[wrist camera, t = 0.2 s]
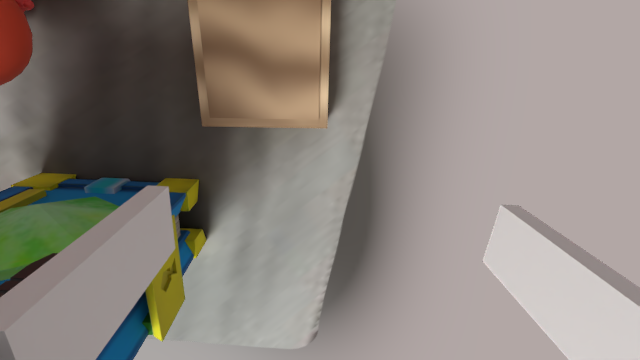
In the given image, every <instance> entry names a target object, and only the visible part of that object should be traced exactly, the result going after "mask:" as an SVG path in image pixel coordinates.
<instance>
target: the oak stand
mask: <svg viewBox="0 0 640 360" xmlns="http://www.w3.org/2000/svg"><path fill="white" fill-rule="evenodd" d="M188 9H189V17H190V26H191V34H192V43H193V52H194V60H195V69H196V77H197V86H198V94H199V103H200V112H201V120H202V126H207V127H275V128H327V120H328V87H329V54H330V21H331V0H188Z"/></svg>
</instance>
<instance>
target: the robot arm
mask: <svg viewBox="0 0 640 360" xmlns="http://www.w3.org/2000/svg"><path fill="white" fill-rule="evenodd" d="M174 250H175V240H174V232H173V223H172V214H171V205H170V196H169V187H167V186H149V185H148V186H146V187H145V188H144V189H142V190H141V191H140V192H138V193H137V194H136V195H134V196H133V197H132V198H130V199H129V200H128V201H126V202H125V203H124V204H123V205H121V206H120V207H119V208H117V209H116V210H115V211H113V212H112V213H111V214H109V215H108V216H107V217H105V218H104V219H103V220H102V221H100V222H99V223H98V224H96V225H95V226H94V227H92V228H91V229H90V230H88V231H87V232H86V233H84V234H83V235H82V236H80V237H79V238H78V239H77V240H75V241H74V242H73V243H71V244H70V245H69V246H67V247H66V248H65V249H63V250H62V251H61V252H59V253H52V254H50V255H48V256H46V257H43V258H41V259H39V260H37V261H35V262H33V263H31V264H29V265H28V266H26V267H25V268H23V269H22V270H21V271H19V272H18V273H16V274H15V275H14V276H12V277H11V278H10V280H9V281H5V282H4V283H3V284H1V285H0V360H96V358H97V357H98V355H99V354H100V353H101V351H102V350H103V348H104V347H105V346H106V344H107V343H108V342H109V340H110V339H111V337H112V336H113V335H114V333H115V332H116V330H117V329H118V328H119V326H120V325H121V323H122V322H123V321H124V319H125V318H126V316H127V315H128V314H129V312H130V311H131V309H132V308H133V307H134V305H135V304H136V303H137V301H138V300H139V298H140V297H141V296H142V294H143V293H144V291H145V290H146V289H147V287H148V286H149V284H150V283H151V282H152V280H153V279H154V277H155V276H156V275H157V273H158V272H159V270H160V269H161V268H162V266H163V265H164V264H165V262H166V261H167V259H168V258H169V257H170V255H171V254H172V252H173V251H174ZM483 262H484V264H485V265H486V266H487V267H488V268H489V269H490V270H491V272H492V273H493V274H494V275H495V276H496V277H497V278H498V280H499V281H500V282H501V283H502V284H503V285H504V286H505V287H506V289H507V290H508V291H509V292H510V293H511V294H512V295H513V297H515V299H516V300H517V301H518V302H519V303H520V305H521V306H522V307H523V308H524V309H525V310H526V311H527V313H528V314H529V315H530V316H531V317H532V318H533V319H534V321H535V322H536V323H537V324H538V325H539V326H540V327H541V329H542V330H543V331H544V332H545V333H546V334H547V335H548V336H549V338H550V339H551V340H552V341H553V342H554V343H555V344H556V345H557V346H558V348H559V349H560V350H561V351H562V352H563V354H564V355H565V356H566V357H567V358H568V359H569V360H640V287H638V286H636V285H635V284H633V283H632V282H631V281H629V280H628V279H626V278H625V277H623V276H622V275H620V274H619V273H617V272H616V271H614V270H613V269H612V268H610V267H609V266H607V265H606V264H604V263H603V262H601V261H600V260H598V259H597V258H595V257H594V256H592V255H591V254H589V253H588V252H586V251H585V250H583V249H582V248H580V247H579V246H578V245H576V244H574V243H573V242H572V241H570V240H569V239H567V238H566V237H564V236H563V235H561V234H560V233H558V232H557V231H555V230H554V229H552V228H551V227H549V226H548V225H547V224H545V223H544V222H542V221H541V220H539V219H538V218H536V217H534V216H533V215H532V214H530V213H529V212H527V211H526V210H524V209H523V208H521V207H520V206H516V205H500V208H499V211H498V215H497V218H496V221H495V224H494V227H493V230H492V233H491V237H490V240H489V243H488V246H487V249H486V252H485V255H484V258H483Z"/></svg>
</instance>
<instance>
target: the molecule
mask: <svg viewBox="0 0 640 360" xmlns="http://www.w3.org/2000/svg"><path fill="white" fill-rule="evenodd" d="M32 8H34V3H33V2H32V1H31V0H0V85H2V84H4V83H7V82H9V81H11V80H12V79H14V78H15V77H16V76H18V75H19V74H21V73H22V71H23V70H24V69H25V67H26V66H27V65H28V63H29V60H30V58H31V55H32V32H31V30H30V27H29V24H28V22H27V19H26V16H25V14H24V11H26V10H31V9H32Z"/></svg>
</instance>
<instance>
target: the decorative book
mask: <svg viewBox="0 0 640 360" xmlns="http://www.w3.org/2000/svg"><path fill="white" fill-rule="evenodd" d="M148 185H149V186H167V187H169V196H170V205H171V214H172V223H173V232H174V240H175V250H174V251H173V252H172V254H171V255H170V257H169V258H168V259H167V261H166V262H165V264H164V265H163V266H162V268H161V269H160V270H159V272H158V273H157V275H156V276H155V277H154V279H153V280H152V282H151V283H150V284H149V286H148V287H147V289H146V290H145V291H144V293H143V294H142V296H141V297H140V298H139V300H138V301H137V303H136V304H135V305H134V307H133V308H132V309H131V311H130V312H129V314H128V315H127V316H126V318H125V319H124V321H123V322H122V323H121V325H120V326H119V328H118V329H117V330H116V332H115V333H114V335H113V336H112V337H111V339H110V340H109V342H108V343H107V344H106V346H105V347H104V348H103V350H102V351H101V353H100V354H99V355H98V357H97V358H96V360H133V359H134V357H135V356H136V354H137V352H138V350H139V349H140V347H141V346H142V344H143V342H144V340H145V339H146V337H147V335H153V336H155V337H156V338H158V339H159V340H160V341H163V340H164V338H165V336H166V334H167V332H168V330H169V328H170V326H171V325H172V323H173V321H174V319H175V317H176V315H177V313H178V311H179V309H180V307H181V306H182V304H183V302H184V300H185V294H184V287H183V279H182V277H183V275H184V273H185V271H186V270H187V268H188V266H189V265H190V263H191V261H192V260H193V258H197V256H198V254H199V252H200V251H201V249H202V247H203V245H204V244H205V242H206V237H205V235H204V232H203V230H202V229H186V228H180V225H179V216H178V214H179V213H180V212H181V211H190V210H191V208H192V207H193V206H194V205H195V203H196V202H197V200H198V187H199V179H179V178H165V179H164V180H163V181H161V182H141V181H130V180H129V179H124V178H100V179H98V180H91V179H76V174H55V173H40V174H38V175H35V176H33V177H30V178H28V179H25V180H23V181H20V182H18V183H15V184H13V185H11V188H8V189H6V190H3V191H1V192H0V285H1V284H3V283H4V282H5V281H9V280H10V278H11V277H12V276H14V275H15V274H16V273H18V272H19V271H21V270H22V269H23V268H25V267H26V266H28V265H29V264H31V263H33V262H35V261H37V260H39V259H41V258H43V257H46V256H48V255H50V254H52V253H59V252H61V251H62V250H63V249H65V248H66V247H67V246H69V245H70V244H71V243H73V242H74V241H75V240H77V239H78V238H79V237H80V236H82V235H83V234H84V233H86V232H87V231H88V230H90V229H91V228H92V227H94V226H95V225H96V224H98V223H99V222H100V221H102V220H103V219H104V218H105V217H107V216H108V215H109V214H111V213H112V212H113V211H115V210H116V209H117V208H119V207H120V206H121V205H123V204H124V203H125V202H126V201H128V200H129V199H130V198H132V197H133V196H134V195H136V194H137V193H138V192H140V191H141V190H142V189H144V188H145V187H146V186H148Z"/></svg>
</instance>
